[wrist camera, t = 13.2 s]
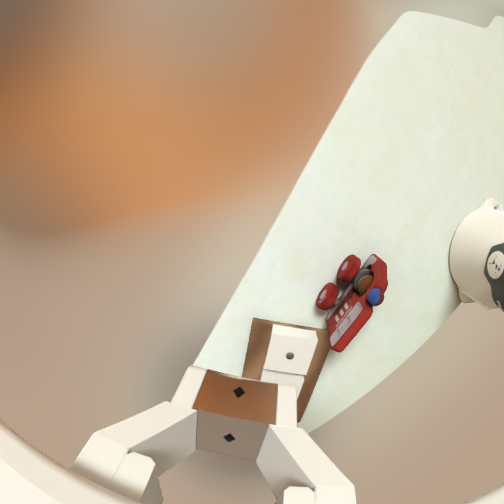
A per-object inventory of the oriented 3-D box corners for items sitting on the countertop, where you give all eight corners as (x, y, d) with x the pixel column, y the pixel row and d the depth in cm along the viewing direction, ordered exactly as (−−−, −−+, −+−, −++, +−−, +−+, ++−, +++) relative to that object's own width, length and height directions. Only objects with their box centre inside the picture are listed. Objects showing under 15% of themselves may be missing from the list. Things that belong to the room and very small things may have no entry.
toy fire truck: (390, 264, 39) (418, 291, 29) (342, 326, 43) (354, 365, 33) (356, 239, 39) (379, 261, 29) (307, 305, 42) (313, 343, 32)
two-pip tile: (303, 369, 44) (304, 381, 41) (293, 397, 46) (293, 408, 43) (263, 363, 44) (262, 375, 41) (256, 391, 46) (255, 402, 43)
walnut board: (332, 330, 43) (335, 341, 40) (299, 418, 49) (299, 429, 46) (253, 317, 44) (251, 327, 41) (235, 408, 50) (233, 420, 47)
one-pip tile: (316, 330, 41) (318, 341, 39) (305, 364, 43) (306, 375, 40) (272, 323, 42) (271, 334, 39) (264, 358, 44) (263, 369, 41)
